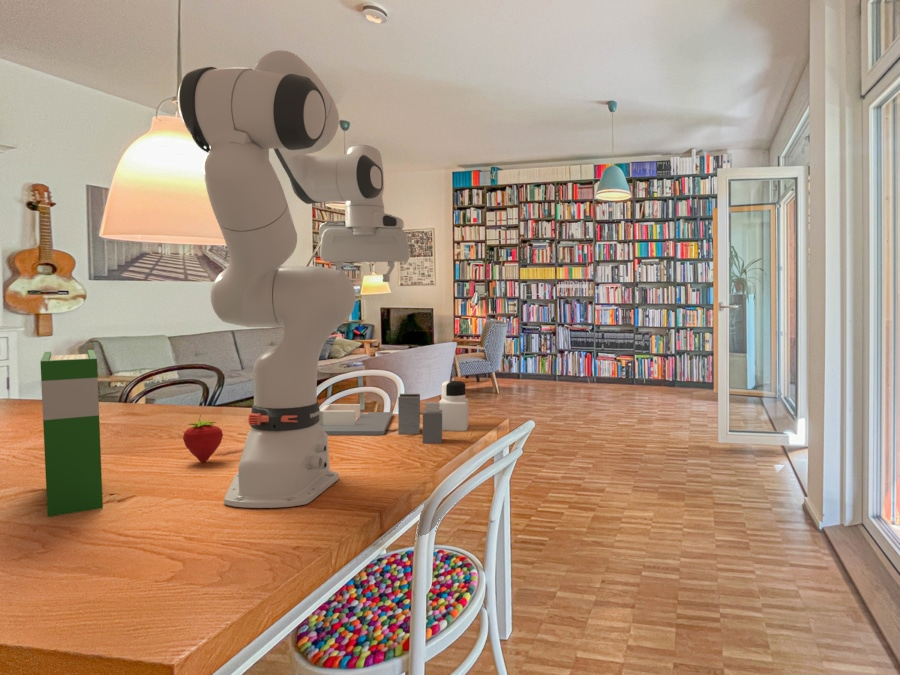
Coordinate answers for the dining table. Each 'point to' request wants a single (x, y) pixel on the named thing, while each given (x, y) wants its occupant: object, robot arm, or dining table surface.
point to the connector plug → (432, 423)
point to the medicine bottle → (454, 406)
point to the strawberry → (202, 439)
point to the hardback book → (71, 433)
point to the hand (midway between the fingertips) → (365, 282)
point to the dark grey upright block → (409, 414)
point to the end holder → (352, 420)
